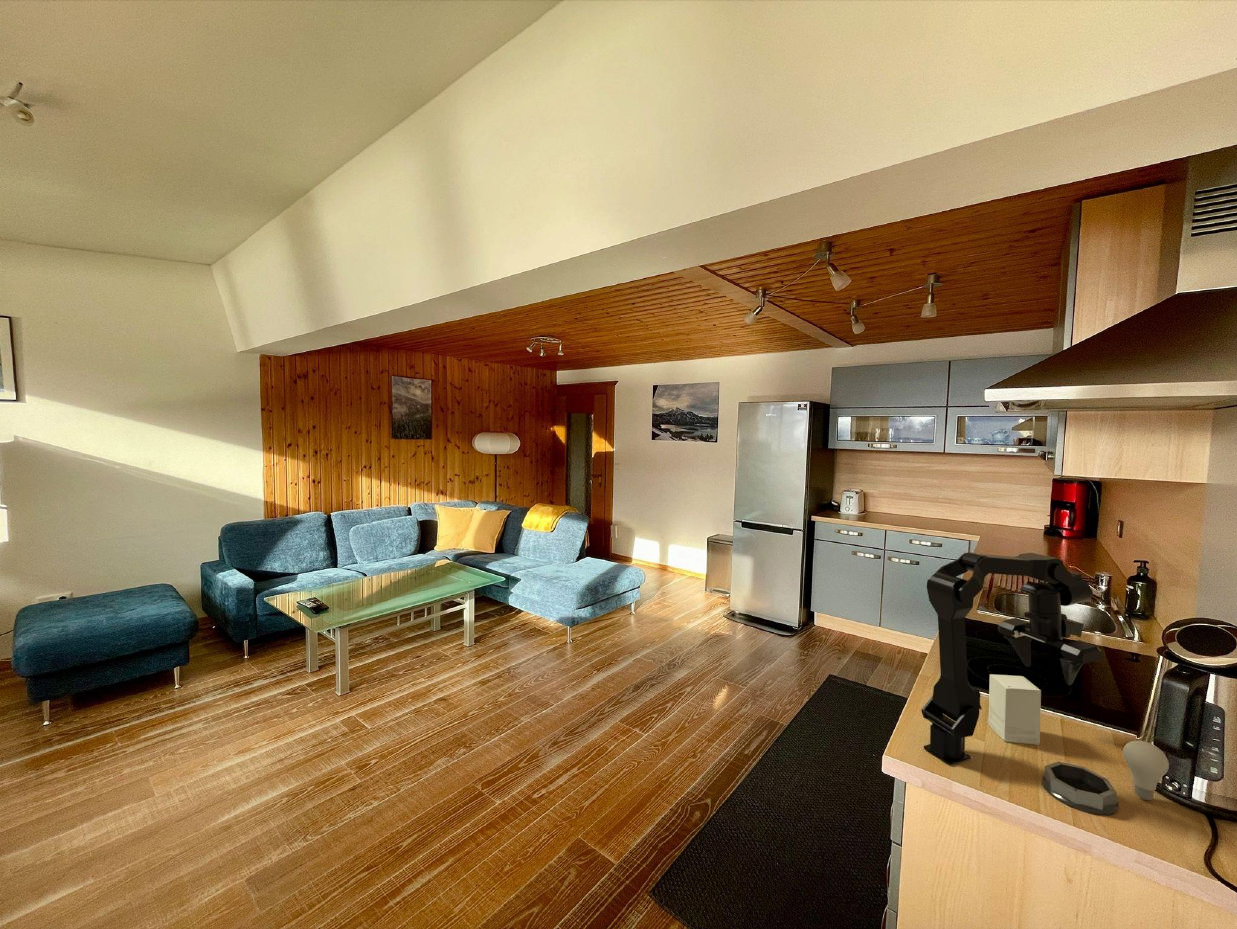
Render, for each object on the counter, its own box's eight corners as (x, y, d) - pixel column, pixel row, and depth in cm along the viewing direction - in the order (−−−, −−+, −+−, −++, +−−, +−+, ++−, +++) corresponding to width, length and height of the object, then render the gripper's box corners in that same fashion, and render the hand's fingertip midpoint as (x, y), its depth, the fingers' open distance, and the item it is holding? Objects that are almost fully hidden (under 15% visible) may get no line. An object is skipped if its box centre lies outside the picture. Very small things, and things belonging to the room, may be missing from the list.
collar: (1094, 821, 92) (1095, 804, 92) (1028, 783, 103) (1029, 767, 103) (1132, 806, 96) (1133, 790, 96) (1064, 770, 106) (1065, 755, 106)
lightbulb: (1120, 799, 98) (1123, 743, 97) (1121, 783, 102) (1123, 730, 102) (1167, 815, 94) (1170, 757, 93) (1166, 798, 98) (1168, 742, 97)
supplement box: (1041, 745, 115) (1042, 690, 114) (1003, 742, 116) (1005, 688, 116) (1022, 727, 122) (1023, 675, 121) (987, 724, 124) (988, 673, 123)
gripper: (1119, 616, 109) (1122, 686, 110) (1031, 590, 127) (1034, 651, 129) (1079, 626, 107) (1082, 698, 108) (995, 599, 125) (998, 660, 126)
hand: (1047, 675), depth 118 cm, fingers open, 9 cm apart
